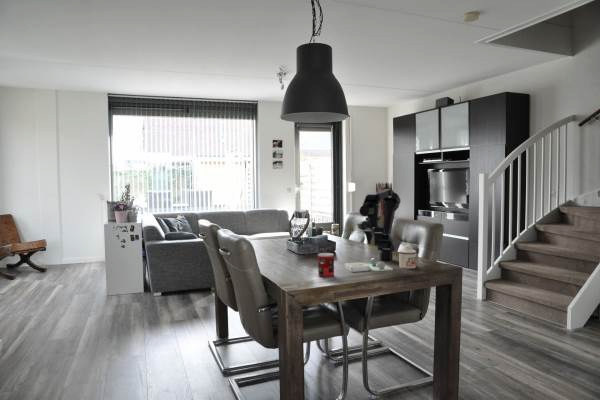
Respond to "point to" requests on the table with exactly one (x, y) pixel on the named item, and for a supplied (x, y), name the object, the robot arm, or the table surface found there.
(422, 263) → the table surface
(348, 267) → the open box
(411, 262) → the teacup with lid
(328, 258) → the canned food
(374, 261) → the pebble
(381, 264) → the pebble
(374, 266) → the tray
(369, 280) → the table surface
